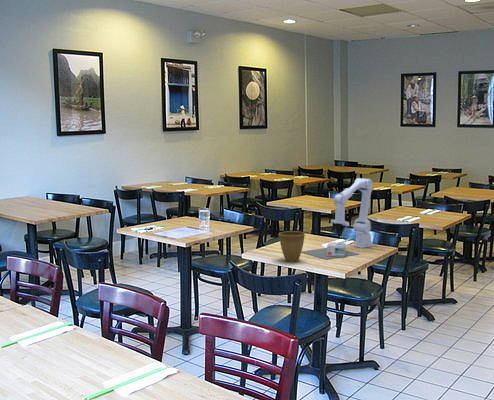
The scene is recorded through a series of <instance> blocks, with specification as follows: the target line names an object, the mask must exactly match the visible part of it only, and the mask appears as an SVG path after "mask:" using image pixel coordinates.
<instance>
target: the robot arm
mask: <svg viewBox="0 0 494 400" xmlns="http://www.w3.org/2000/svg"><path fill="white" fill-rule="evenodd" d="M373 186H374V182H373V181H372V179H371V178H361V177H357V178H356V179H355V180H354V182H353V183H352V185H351V186H350V187H347V188H344V190H343V191H341V192H339V194H336V195H334V198H333V203H334V208H335V210H334V211H335V212H334V214H335V215H334V216H335V218H334V219H330V223H331V224H333V227H334V228H335V231H336V235H337V237H342V236H343V232H344V229H345V228H346V227H349V226H350V222H347V221H346V220H345V219H346V217H345V216H346V215H345V213H346V212H345V211H346V204H347V202H348V200H349V199H350V198H351V197H352V196H353V194H354V193H355V192H356V191H357V190H359V191H360V192H361V193H362V194H361V200H360V201H361V202H360V208H359V215H358V218H356V219H354V220H355V221H354V224H353V231H354V232H355V244H353V245H352V247H357V248H359V249H363V248H365V249H366V248H370V247H372V235H371V233H370V231H371V229H372V228H371V227H372V225H371V221H370V220H369V218H368V215H369V209H370V202H371V195H372V192H373Z"/></svg>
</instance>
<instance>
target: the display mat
mask: <svg viewBox="0 0 494 400" xmlns="http://www.w3.org/2000/svg"><path fill="white" fill-rule="evenodd" d="M301 254H306V255H310V256H311V257H312V256H313V257H315V258H319V259H322V260H326V261H328V260H333V259H334V260H335V259H340V258H341V257H336V256H327V247H322V248H317V249H316V248H315V249H310V250H302V251H301ZM358 255H360V253H358V252H353V251H349V250H346V251H345V256H344V257H343V258H346V257H352V256H358Z"/></svg>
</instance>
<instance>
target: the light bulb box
mask: <svg viewBox="0 0 494 400" xmlns="http://www.w3.org/2000/svg"><path fill="white" fill-rule="evenodd" d="M326 246H327V247H326V248H327V256H336V257H340V258H345V257H344V256H345V251H347V250H346V248H347V244H346V242H337V241H335V242H333V241H329V242H328V243H327V245H326Z"/></svg>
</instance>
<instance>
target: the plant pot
mask: <svg viewBox="0 0 494 400" xmlns="http://www.w3.org/2000/svg"><path fill="white" fill-rule="evenodd" d="M305 234H306V233H305V232H303V231H296V230H295V231H294V230H289V231H281V232H279V233H278V237H279V242H280V243H279V244H280V248H281V252H282V254H283V257H284V260H285V262H289V263H291V262H292V263H295V262H299V259H300V257H301V255H302V253H301V251H303V247H304V242H305V236H306V235H305Z"/></svg>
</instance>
